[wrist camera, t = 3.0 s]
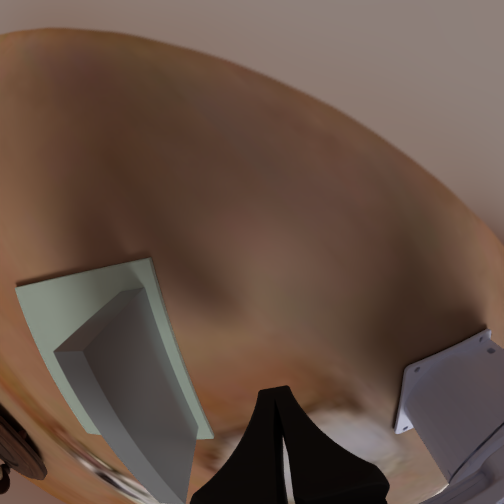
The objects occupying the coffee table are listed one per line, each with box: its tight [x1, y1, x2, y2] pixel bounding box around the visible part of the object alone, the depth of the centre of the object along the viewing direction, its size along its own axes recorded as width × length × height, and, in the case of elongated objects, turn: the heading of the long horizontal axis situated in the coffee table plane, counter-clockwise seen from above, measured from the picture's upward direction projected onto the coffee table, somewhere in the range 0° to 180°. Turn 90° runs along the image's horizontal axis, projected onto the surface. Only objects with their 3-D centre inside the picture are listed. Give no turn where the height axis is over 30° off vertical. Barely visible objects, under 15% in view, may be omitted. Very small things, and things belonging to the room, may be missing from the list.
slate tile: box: [53, 287, 199, 504], centre depth 12 cm, size 2×11×7 cm, turn 11°
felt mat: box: [15, 257, 214, 439], centre depth 16 cm, size 12×14×1 cm
